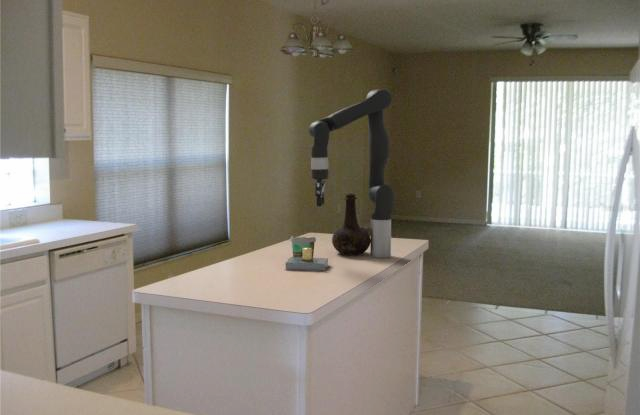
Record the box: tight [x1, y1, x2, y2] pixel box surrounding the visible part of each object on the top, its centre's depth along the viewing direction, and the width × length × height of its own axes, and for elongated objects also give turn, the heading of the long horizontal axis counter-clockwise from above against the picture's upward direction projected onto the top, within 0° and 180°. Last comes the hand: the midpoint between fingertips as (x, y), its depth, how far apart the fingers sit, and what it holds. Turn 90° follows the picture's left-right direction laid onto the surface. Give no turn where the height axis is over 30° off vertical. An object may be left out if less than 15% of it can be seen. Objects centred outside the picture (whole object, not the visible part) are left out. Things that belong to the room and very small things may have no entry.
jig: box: [285, 256, 329, 272], centre depth 266 cm, size 16×12×3 cm
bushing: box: [302, 248, 312, 261], centre depth 266 cm, size 4×4×8 cm
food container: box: [289, 234, 317, 258], centre depth 284 cm, size 12×6×10 cm, turn 62°
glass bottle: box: [331, 193, 371, 256], centre depth 297 cm, size 18×18×28 cm
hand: (320, 205), depth 279 cm, fingers open, 8 cm apart
